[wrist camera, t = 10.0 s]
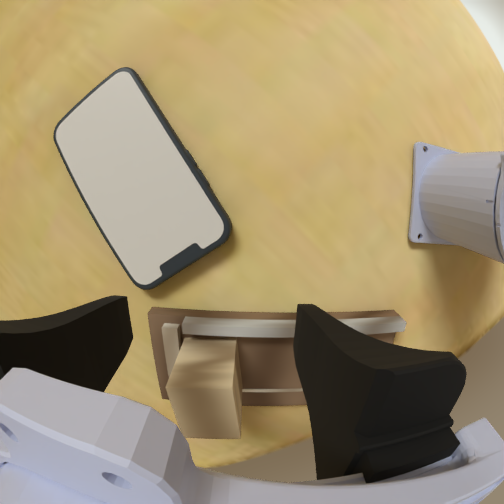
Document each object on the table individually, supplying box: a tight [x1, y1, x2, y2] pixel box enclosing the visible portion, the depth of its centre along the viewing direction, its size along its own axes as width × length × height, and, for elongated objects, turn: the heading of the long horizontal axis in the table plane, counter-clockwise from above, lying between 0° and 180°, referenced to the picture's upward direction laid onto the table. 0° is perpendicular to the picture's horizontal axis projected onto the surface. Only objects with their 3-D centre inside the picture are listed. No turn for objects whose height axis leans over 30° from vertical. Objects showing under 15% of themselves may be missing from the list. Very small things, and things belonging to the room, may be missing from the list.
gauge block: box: [165, 336, 242, 439], centre depth 18 cm, size 4×5×6 cm
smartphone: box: [54, 67, 232, 290], centre depth 18 cm, size 9×2×16 cm
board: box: [148, 307, 407, 406], centre depth 21 cm, size 20×9×2 cm, turn 88°
